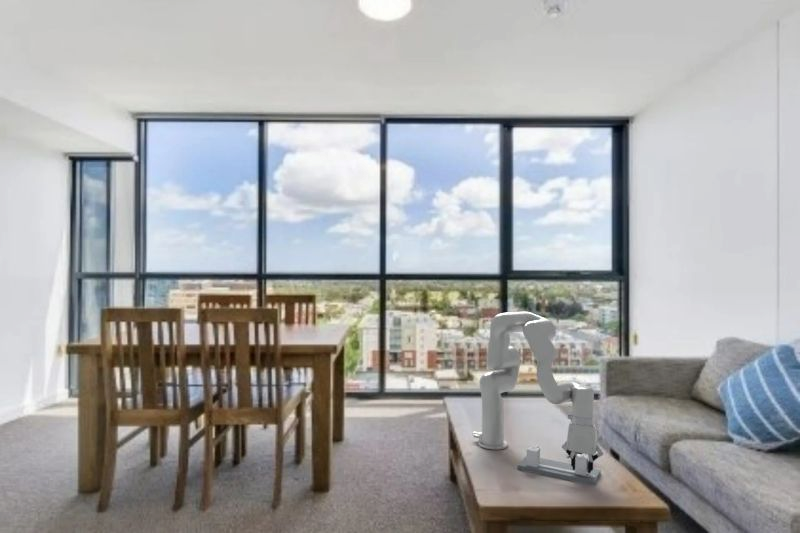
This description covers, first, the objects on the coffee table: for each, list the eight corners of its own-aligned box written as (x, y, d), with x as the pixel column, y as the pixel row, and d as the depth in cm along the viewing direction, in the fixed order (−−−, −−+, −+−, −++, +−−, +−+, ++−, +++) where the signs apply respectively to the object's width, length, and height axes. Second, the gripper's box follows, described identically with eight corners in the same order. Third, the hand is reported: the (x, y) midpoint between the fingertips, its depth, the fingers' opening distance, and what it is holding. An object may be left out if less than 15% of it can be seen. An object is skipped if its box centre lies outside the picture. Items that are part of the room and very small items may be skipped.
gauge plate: (517, 468, 197) (517, 449, 197) (526, 458, 208) (527, 440, 208) (594, 485, 183) (594, 464, 183) (600, 473, 193) (600, 453, 193)
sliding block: (575, 474, 188) (575, 457, 188) (579, 467, 194) (579, 451, 194) (586, 476, 186) (586, 459, 186) (590, 469, 192) (590, 453, 192)
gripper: (556, 419, 190) (555, 468, 190) (605, 426, 181) (605, 478, 181) (561, 414, 196) (560, 462, 196) (609, 421, 187) (608, 471, 187)
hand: (582, 469), depth 189 cm, fingers open, 4 cm apart
